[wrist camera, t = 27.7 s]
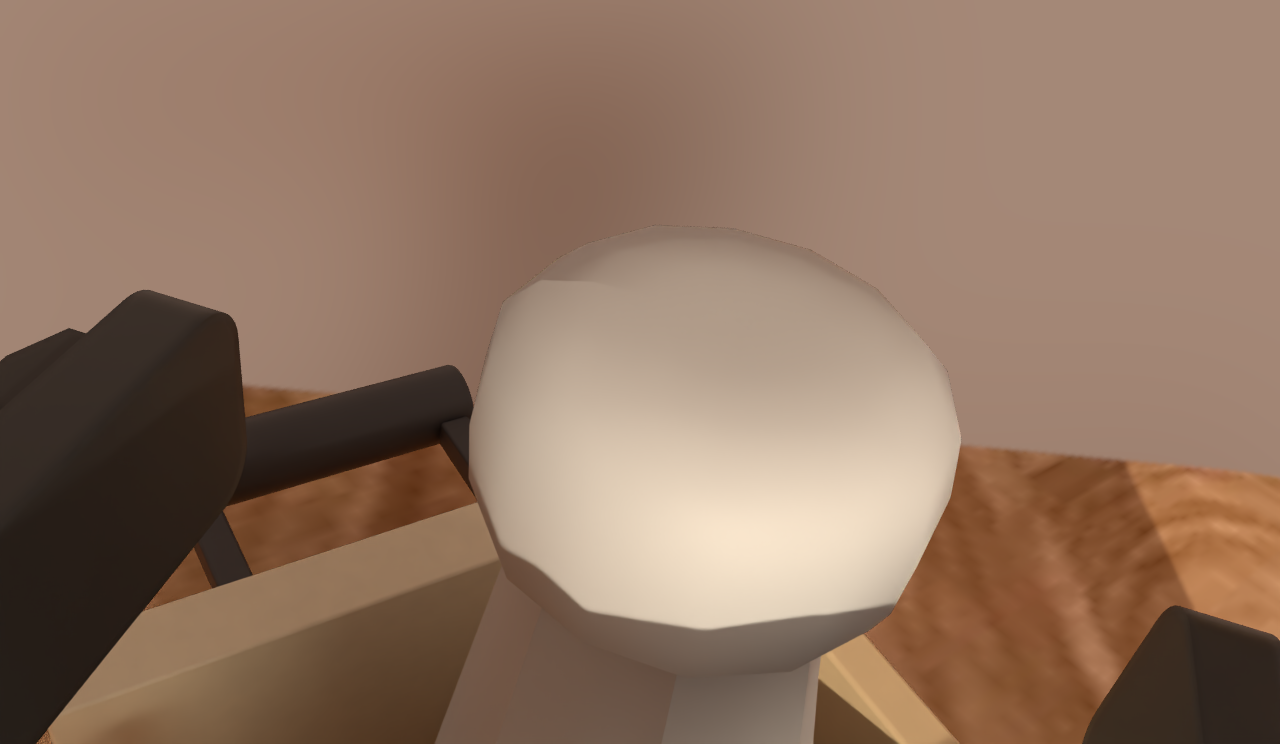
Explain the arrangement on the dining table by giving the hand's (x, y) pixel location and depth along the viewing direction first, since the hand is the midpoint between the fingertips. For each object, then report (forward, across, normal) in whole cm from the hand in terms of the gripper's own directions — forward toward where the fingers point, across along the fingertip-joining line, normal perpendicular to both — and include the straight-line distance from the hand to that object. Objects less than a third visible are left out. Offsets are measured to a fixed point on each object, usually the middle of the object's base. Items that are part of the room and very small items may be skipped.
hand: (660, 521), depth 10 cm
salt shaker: (+1, 0, +12) cm, 12 cm away
